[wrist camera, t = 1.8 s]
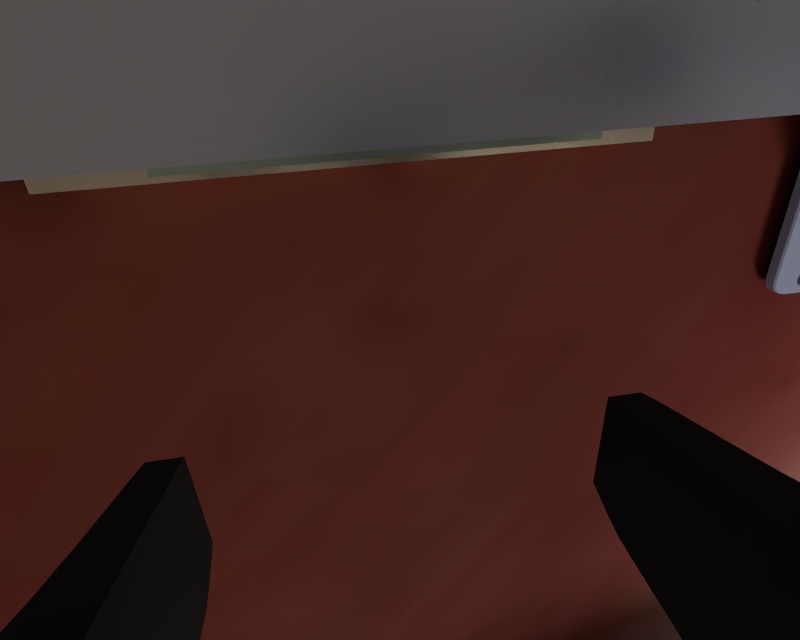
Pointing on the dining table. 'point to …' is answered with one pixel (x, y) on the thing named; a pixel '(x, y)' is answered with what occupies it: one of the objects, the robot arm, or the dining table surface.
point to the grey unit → (367, 81)
